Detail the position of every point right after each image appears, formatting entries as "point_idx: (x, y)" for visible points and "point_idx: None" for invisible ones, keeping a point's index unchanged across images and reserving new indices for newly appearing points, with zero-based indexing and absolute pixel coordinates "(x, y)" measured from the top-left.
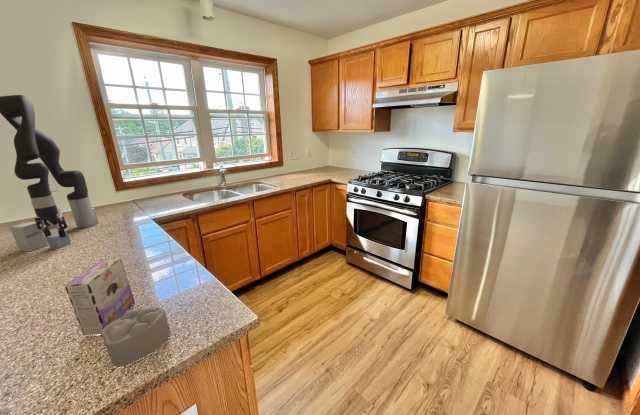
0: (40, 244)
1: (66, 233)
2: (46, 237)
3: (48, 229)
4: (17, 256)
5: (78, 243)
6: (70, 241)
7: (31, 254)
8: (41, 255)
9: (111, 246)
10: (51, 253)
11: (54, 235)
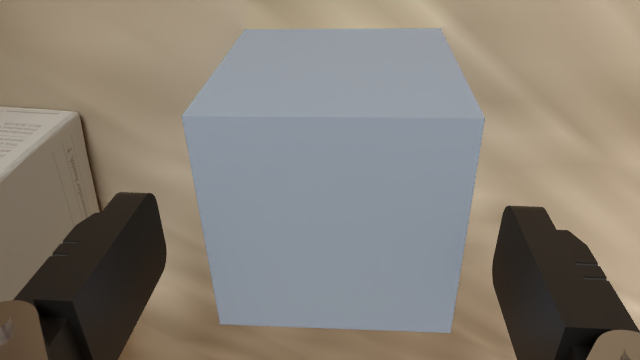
0: (77, 207)
1: (478, 144)
2: (224, 315)
3: (60, 310)
4: (133, 356)
5: (589, 23)
6: (446, 46)
7: (232, 326)
8: (388, 343)
9: None
10: (463, 309)
11: (311, 266)
